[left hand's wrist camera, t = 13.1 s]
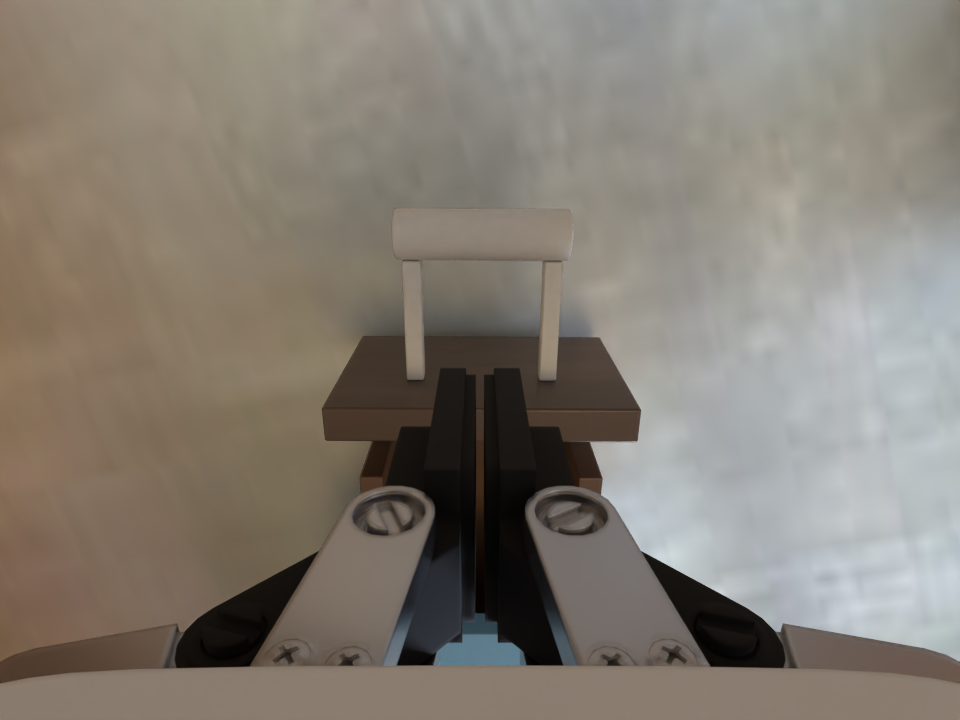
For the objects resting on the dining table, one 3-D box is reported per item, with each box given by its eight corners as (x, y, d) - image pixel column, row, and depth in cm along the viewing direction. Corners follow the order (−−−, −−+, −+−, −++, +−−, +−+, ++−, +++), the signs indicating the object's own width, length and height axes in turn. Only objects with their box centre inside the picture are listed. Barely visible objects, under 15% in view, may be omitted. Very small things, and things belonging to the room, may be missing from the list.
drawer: (351, 193, 22) (300, 218, 16) (612, 195, 22) (665, 221, 16) (387, 679, 32) (364, 815, 26) (570, 680, 32) (592, 817, 26)
